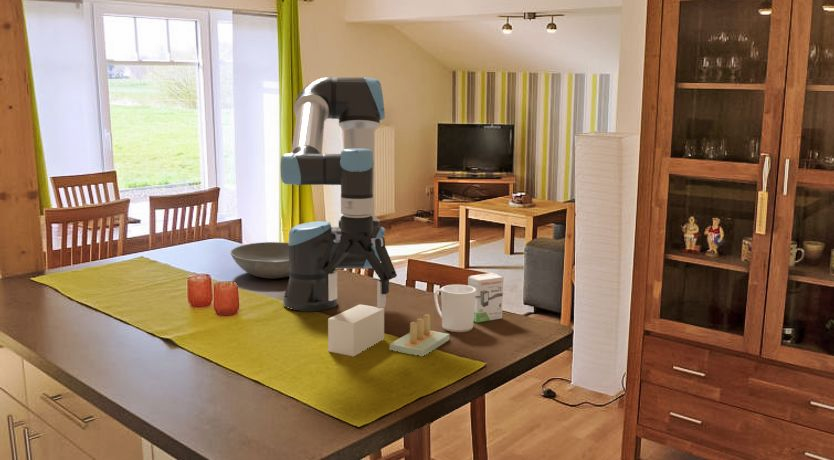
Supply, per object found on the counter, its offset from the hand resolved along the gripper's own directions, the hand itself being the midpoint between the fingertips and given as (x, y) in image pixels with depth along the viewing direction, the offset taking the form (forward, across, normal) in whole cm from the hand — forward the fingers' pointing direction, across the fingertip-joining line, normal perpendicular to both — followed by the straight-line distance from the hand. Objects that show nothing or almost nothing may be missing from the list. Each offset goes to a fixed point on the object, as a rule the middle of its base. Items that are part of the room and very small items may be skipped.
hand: (356, 303), depth 187 cm
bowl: (+10, -60, +46) cm, 76 cm away
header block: (+11, +13, +8) cm, 19 cm away
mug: (+11, +14, +26) cm, 31 cm away
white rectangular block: (+11, 0, 0) cm, 11 cm away
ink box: (+10, +18, +36) cm, 42 cm away
